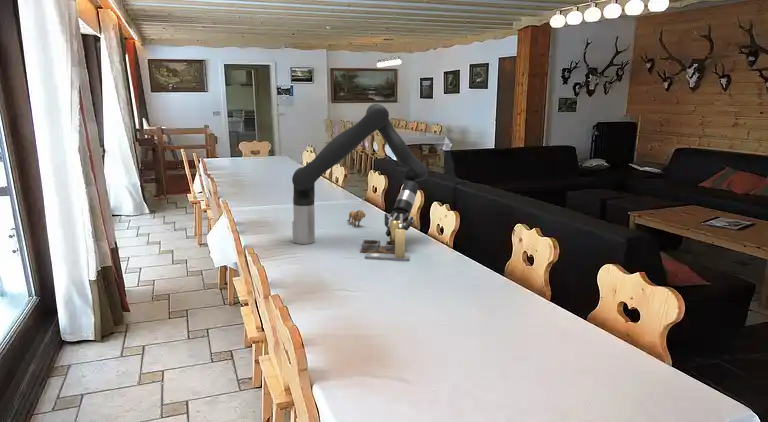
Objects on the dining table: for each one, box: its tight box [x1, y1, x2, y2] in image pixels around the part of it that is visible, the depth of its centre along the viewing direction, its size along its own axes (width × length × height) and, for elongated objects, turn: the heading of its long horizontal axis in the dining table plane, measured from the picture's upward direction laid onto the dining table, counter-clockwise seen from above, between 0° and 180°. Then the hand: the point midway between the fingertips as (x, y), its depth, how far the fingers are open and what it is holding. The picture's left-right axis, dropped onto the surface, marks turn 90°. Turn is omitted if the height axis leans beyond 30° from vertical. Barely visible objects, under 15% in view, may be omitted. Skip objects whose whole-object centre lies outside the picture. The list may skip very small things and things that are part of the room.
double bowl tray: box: [359, 239, 395, 254], centre depth 215 cm, size 18×8×4 cm, turn 84°
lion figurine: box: [346, 209, 367, 228], centre depth 256 cm, size 15×5×9 cm, turn 37°
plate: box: [364, 229, 411, 262], centre depth 205 cm, size 18×5×12 cm, turn 84°
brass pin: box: [389, 219, 400, 245], centre depth 213 cm, size 4×4×11 cm
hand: (392, 236), depth 212 cm, fingers closed on brass pin, 4 cm apart
